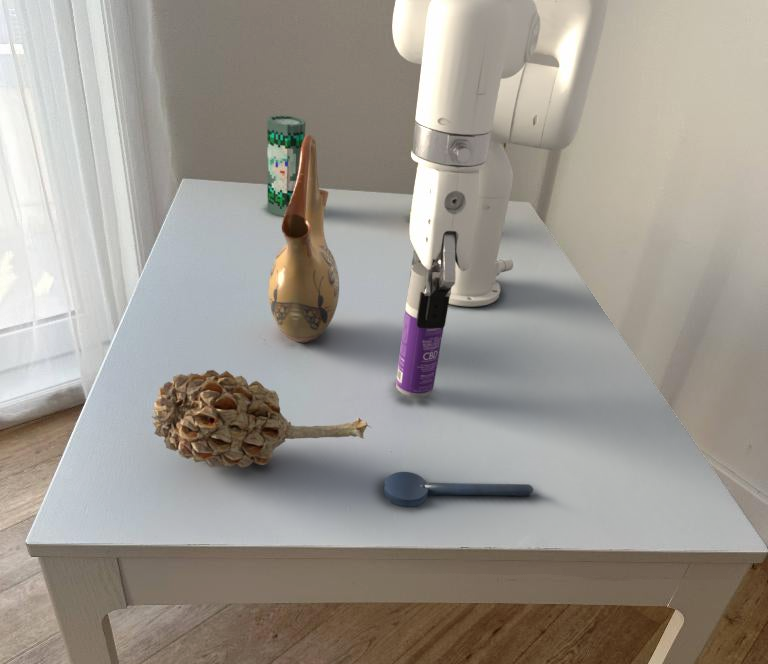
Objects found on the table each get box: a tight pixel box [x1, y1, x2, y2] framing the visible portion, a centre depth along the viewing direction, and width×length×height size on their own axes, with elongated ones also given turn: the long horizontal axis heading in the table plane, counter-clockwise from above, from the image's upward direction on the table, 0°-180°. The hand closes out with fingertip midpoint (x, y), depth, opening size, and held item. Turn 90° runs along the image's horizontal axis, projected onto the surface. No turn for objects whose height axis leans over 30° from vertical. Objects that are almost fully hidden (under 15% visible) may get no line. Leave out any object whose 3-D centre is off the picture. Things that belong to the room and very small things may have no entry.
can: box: [266, 114, 306, 217], centre depth 129 cm, size 6×6×15 cm
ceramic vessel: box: [268, 134, 340, 343], centre depth 91 cm, size 16×9×25 cm, turn 175°
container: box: [395, 262, 445, 398], centre depth 86 cm, size 5×5×15 cm
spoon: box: [383, 471, 534, 508], centre depth 77 cm, size 16×5×1 cm, turn 96°
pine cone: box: [151, 369, 371, 468], centre depth 75 cm, size 22×10×10 cm, turn 98°
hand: (425, 313), depth 84 cm, fingers closed on container, 4 cm apart
